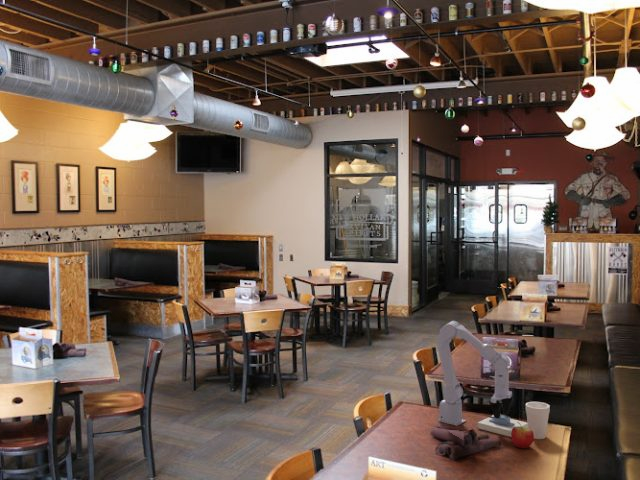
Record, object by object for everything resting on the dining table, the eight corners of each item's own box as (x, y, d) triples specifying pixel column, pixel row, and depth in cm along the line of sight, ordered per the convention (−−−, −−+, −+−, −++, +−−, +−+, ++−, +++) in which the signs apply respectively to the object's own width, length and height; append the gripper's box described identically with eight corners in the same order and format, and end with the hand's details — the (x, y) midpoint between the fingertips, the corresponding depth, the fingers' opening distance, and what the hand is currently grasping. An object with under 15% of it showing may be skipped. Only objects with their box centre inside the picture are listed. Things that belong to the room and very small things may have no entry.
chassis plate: (477, 428, 270) (477, 422, 270) (494, 420, 280) (494, 414, 280) (512, 437, 259) (512, 431, 259) (528, 428, 269) (528, 422, 269)
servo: (514, 430, 267) (514, 416, 267) (511, 432, 265) (511, 418, 264) (489, 424, 275) (489, 410, 275) (485, 426, 273) (485, 412, 272)
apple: (510, 442, 254) (510, 417, 253) (533, 444, 252) (533, 419, 251) (511, 449, 246) (511, 424, 245) (534, 451, 244) (534, 426, 243)
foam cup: (546, 432, 264) (546, 402, 264) (552, 440, 255) (552, 408, 254) (523, 432, 265) (523, 401, 264) (528, 440, 256) (528, 408, 255)
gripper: (501, 389, 260) (501, 422, 261) (518, 382, 271) (518, 413, 271) (486, 386, 265) (486, 418, 266) (503, 379, 276) (503, 410, 276)
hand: (501, 415), depth 269 cm, fingers open, 7 cm apart
